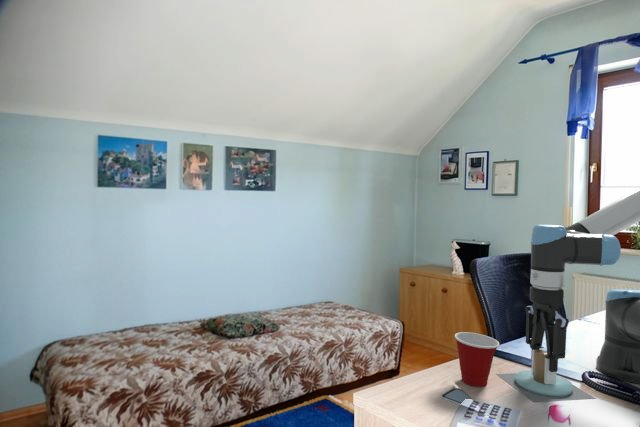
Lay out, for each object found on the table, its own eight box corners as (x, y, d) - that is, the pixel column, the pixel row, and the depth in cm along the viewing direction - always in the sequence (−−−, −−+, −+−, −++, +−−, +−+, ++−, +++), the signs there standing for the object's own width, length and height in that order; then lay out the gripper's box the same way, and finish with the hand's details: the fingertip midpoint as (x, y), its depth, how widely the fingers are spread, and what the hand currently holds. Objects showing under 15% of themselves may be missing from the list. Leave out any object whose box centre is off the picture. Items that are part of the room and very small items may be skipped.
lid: (549, 373, 118) (550, 343, 118) (585, 395, 105) (586, 361, 105) (504, 375, 116) (505, 345, 116) (535, 398, 103) (537, 363, 103)
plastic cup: (502, 395, 106) (503, 346, 106) (455, 391, 108) (456, 342, 108) (493, 377, 117) (495, 332, 116) (451, 373, 119) (452, 329, 118)
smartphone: (455, 387, 110) (516, 407, 99) (455, 390, 110) (516, 411, 99) (439, 395, 105) (501, 418, 94) (439, 399, 105) (501, 422, 94)
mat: (550, 373, 120) (550, 371, 120) (595, 400, 104) (595, 398, 104) (496, 376, 118) (496, 374, 118) (533, 404, 102) (533, 401, 102)
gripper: (512, 280, 118) (509, 366, 119) (556, 294, 101) (552, 395, 102) (538, 280, 119) (535, 365, 120) (586, 294, 102) (582, 393, 103)
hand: (543, 378), depth 111 cm, fingers closed on lid, 4 cm apart
